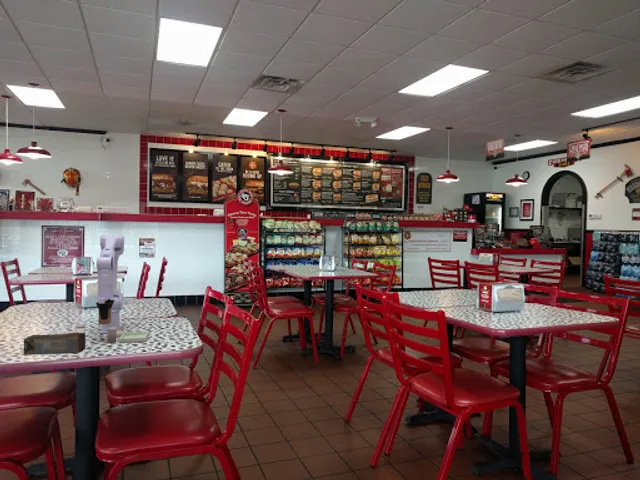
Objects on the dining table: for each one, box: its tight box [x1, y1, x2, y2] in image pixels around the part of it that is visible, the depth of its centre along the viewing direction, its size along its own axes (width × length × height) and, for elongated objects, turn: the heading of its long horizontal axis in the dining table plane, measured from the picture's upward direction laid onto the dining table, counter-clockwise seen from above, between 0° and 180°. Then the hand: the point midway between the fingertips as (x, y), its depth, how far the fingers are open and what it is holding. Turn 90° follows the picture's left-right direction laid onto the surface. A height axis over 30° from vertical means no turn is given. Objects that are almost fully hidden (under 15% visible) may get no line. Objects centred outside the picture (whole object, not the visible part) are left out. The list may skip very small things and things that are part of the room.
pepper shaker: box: [107, 327, 117, 344], centre depth 189 cm, size 3×3×6 cm
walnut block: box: [98, 308, 111, 326], centre depth 193 cm, size 4×4×6 cm
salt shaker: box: [75, 323, 86, 334], centre depth 194 cm, size 3×3×6 cm
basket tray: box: [118, 331, 150, 344], centre depth 195 cm, size 12×10×2 cm
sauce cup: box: [116, 329, 124, 339], centre depth 200 cm, size 4×4×3 cm
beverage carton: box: [23, 331, 86, 355], centre depth 175 cm, size 8×19×7 cm, turn 101°
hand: (105, 318), depth 193 cm, fingers closed on walnut block, 4 cm apart
